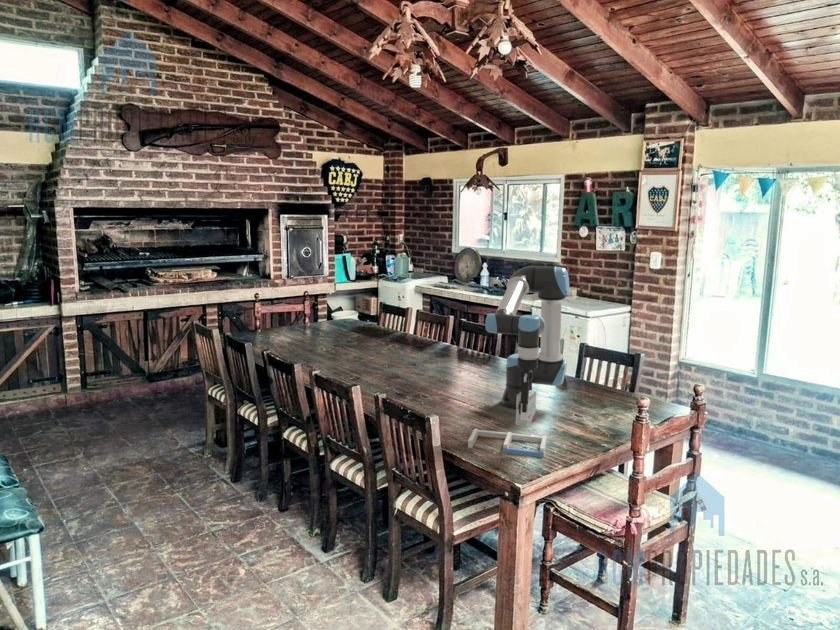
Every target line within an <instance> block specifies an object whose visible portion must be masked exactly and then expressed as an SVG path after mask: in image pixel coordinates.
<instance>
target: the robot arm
mask: <svg viewBox="0 0 840 630" xmlns="http://www.w3.org/2000/svg"><path fill="white" fill-rule="evenodd" d="M529 293H533V294H537V298H538V300H540V303H541V307H540V308H541V309H540V314H541V315H539V314H523V315H519V314H518V315H516V314H517V312H518V310H519V308H520V306H521V302H522V300H523V299H524V297H525V296H526V295H527V294H529ZM569 293H570V276H569V273H568V270H567V269H566V268H565V267H560V266H556V265H555V266H545V265H541V266H540V265H528V266H525V267H522V268H520V269H519V270H517V271H515V272H514V273H512V275H510V277H509V279H508V281H507V282H506V291H505V293H504V294H503V296H502V299H501V301H500V303H499V304H498V307H497V309H496V311H495V313H494V312H493V313H487V315H486V318H485V326H484V327H485V331H486V332H487V333H490V334H491V333H492V334H496V335H497V334H502V335H513V336H517V337H518V338H517V339H518V340H517V347H516V348H515V349H516V351H517V353H513V354H510V355H509V356H508V357H507V359H506V366H505V367H506V368H505V369H506V371H505V388H504V391H503V393H502V397H501V405H503V406H505V407H508V408H512V409H516V400H517V395H518V394H519V393H520V392H521V401H519V403H521V417H520V420H526V421H528V407H529V403H528V397H529V390H533V384H536V385H544V386H551V387H552V386H557V387H559V386H562V384H563V383H564V381H565V376H566V370H567V365H568V361H567V360H565V359H564V355H563V354H562V353H561V338H562V337H561V334H562V333H561V330H562V329H561V328H562V302H563V301H564V300H565V299H566V296H568V295H569ZM539 345H540V346H539ZM539 351H540V352H539Z"/></svg>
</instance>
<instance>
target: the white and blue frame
mask: <svg viewBox="0 0 840 630" xmlns="http://www.w3.org/2000/svg"><path fill="white" fill-rule="evenodd" d="M479 437H484V438H492V439H493V438H494V439H495V438H496V439H502V440H503V439H504V442H503V447H502V453H503V454H510V455H511V454H512V455H519V456H520V455H522V456H532V457H538V458H539V457H540V458H545V453H546V447H547V442H548V436H547V435H531V434H522V433H513V432H512V431H508V432H504V431H494V430H483V429H479V428H473V431H472V432H471V434H470V436H469V438H468V440H467V448H468V449H473V447H474V445H475V443H476V441H477V439H478V438H479ZM512 441H525V442H530V443H531V442H533V443H540V446H539V451H535V450H527V449H517V448H510V445H511V443H512Z"/></svg>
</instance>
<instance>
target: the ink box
mask: <svg viewBox="0 0 840 630" xmlns="http://www.w3.org/2000/svg"><path fill="white" fill-rule="evenodd" d="M519 401H521V392H520V393H519V394H518V395H517V400H516V408H515V425H516V426H520V427H529V426H530V425H531V424H532V423H533V422H535V420H536V409H537V408H536V407H537V405H536V403H537V390H533V389H532V390H529V397H528V403H529V407H528V421H526V420H520V417H521V403H519Z"/></svg>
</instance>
